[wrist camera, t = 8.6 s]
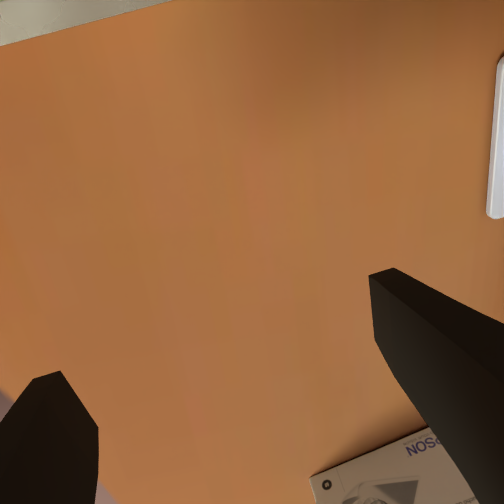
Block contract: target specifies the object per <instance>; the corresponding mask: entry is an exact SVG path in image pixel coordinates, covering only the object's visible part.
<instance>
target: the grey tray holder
mask: <svg viewBox="0 0 504 504" xmlns="http://www.w3.org/2000/svg"><path fill="white" fill-rule="evenodd" d="M167 1H171V0H0V46H2V45H6V44H10V43H13V42H17V41H21V40H25V39H28V38H32V37H36V36H40V35H43V34H47V33H51V32H55V31H58V30H62V29H66V28H70V27H73V26H77V25H81V24H85V23H88V22H92V21H96V20H100V19H103V18H107V17H111V16H115V15H118V14H122V13H126V12H130V11H133V10H137V9H141V8H145V7H148V6H152V5H156V4H160V3H163V2H167Z"/></svg>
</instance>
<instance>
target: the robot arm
mask: <svg viewBox="0 0 504 504" xmlns="http://www.w3.org/2000/svg"><path fill="white" fill-rule="evenodd" d="M486 214H487V215H488V216H489V217H491V218H493V219H499V218H502V217H504V56H503V57H502V58H501V60H500V61H499V63H498V66H497V74H496V87H495V100H494V113H493V126H492V139H491V152H490V165H489V178H488V192H487V205H486ZM368 276H369V286H370V296H371V307H372V317H373V327H374V338H375V341H376V343H377V345H378V347H379V349H380V351H381V353H382V355H383V357H384V359H385V360H386V362H387V364H388V366H389V368H390V370H391V371H392V373H393V375H394V377H395V378H396V380H397V381H398V383H399V384H400V386H401V387H402V389H403V390H404V392H405V393H406V394H407V396H408V397H409V399H410V400H411V402H412V403H413V405H414V406H415V407H416V409H417V410H418V412H419V413H420V415H421V416H422V417H423V419H424V420H425V422H426V423H427V425H428V426H429V427H430V429H431V430H432V432H433V433H434V435H435V436H436V437H437V439H438V440H439V442H440V443H441V445H442V446H443V447H444V449H445V450H446V452H447V453H448V455H449V456H450V457H451V459H452V460H453V462H454V463H455V465H456V466H457V468H458V469H459V471H460V472H461V474H462V476H463V477H464V479H465V480H466V482H467V483H468V485H469V487H470V488H471V490H472V492H473V494H474V495H475V497H476V499H477V501H478V502H479V504H504V324H503V323H501V322H499V321H497V320H495V319H493V318H491V317H488V316H486V315H484V314H482V313H480V312H478V311H476V310H474V309H472V308H470V307H468V306H466V305H464V304H462V303H460V302H458V301H456V300H454V299H452V298H450V297H448V296H446V295H444V294H442V293H441V292H439V291H437V290H435V289H433V288H431V287H429V286H427V285H425V284H424V283H422V282H420V281H418V280H416V279H414V278H413V277H411V276H409V275H407V274H405V273H403V272H401V271H399V270H397V269H395V268H391V269H387V270H384V271H381V272H378V273H374V274H371V275H368ZM98 459H99V442H98V426H97V425H96V423H95V422H94V420H93V419H92V417H91V416H90V414H89V413H88V411H87V410H86V408H85V407H84V405H83V404H82V402H81V401H80V399H79V398H78V396H77V395H76V393H75V392H74V390H73V389H72V387H71V386H70V384H69V383H68V381H67V380H66V378H65V377H64V375H63V374H62V372H61V371H57V372H54V373H51V374H47V375H44V376H41V377H38V378H34V379H33V380H32V381H31V382H30V383H29V385H28V386H27V387H26V388H25V390H24V391H23V392H22V394H21V395H20V396H19V398H18V399H17V400H16V402H15V403H14V404H13V406H12V407H11V409H10V410H9V411H8V413H7V414H6V415H5V417H4V418H3V420H2V421H1V422H0V504H95V496H96V495H95V494H96V487H97V479H98Z"/></svg>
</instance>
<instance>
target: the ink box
mask: <svg viewBox="0 0 504 504" xmlns="http://www.w3.org/2000/svg"><path fill="white" fill-rule="evenodd" d="M309 480H310V484H311V487H312V491H313V494H314V498H315V501H316V504H479V502H478V501H477V499H476V497H475V495H474V494H473V492H472V490H471V488H470V487H469V485H468V483H467V482H466V480H465V479H464V477H463V476H462V474H461V472H460V471H459V469H458V468H457V466H456V465H455V463H454V462H453V460H452V459H451V457H450V456H449V455H448V453H447V452H446V450H445V449H444V447H443V446H442V445H441V443H440V442H439V440H438V439H437V437H436V436H435V435H434V433H433V432H432V430H431V429H430V427H428V428H426V429H424V430H421V431H419V432H417V433H414V434H412V435H410V436H407V437H405V438H403V439H400V440H398V441H396V442H394V443H391V444H389V445H386V446H384V447H382V448H379V449H377V450H375V451H372V452H370V453H367V454H365V455H363V456H360V457H358V458H355V459H353V460H351V461H348V462H346V463H344V464H341V465H339V466H336V467H334V468H332V469H329V470H327V471H325V472H322V473H320V474H317V475H314V476H312V477H310V479H309Z"/></svg>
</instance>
